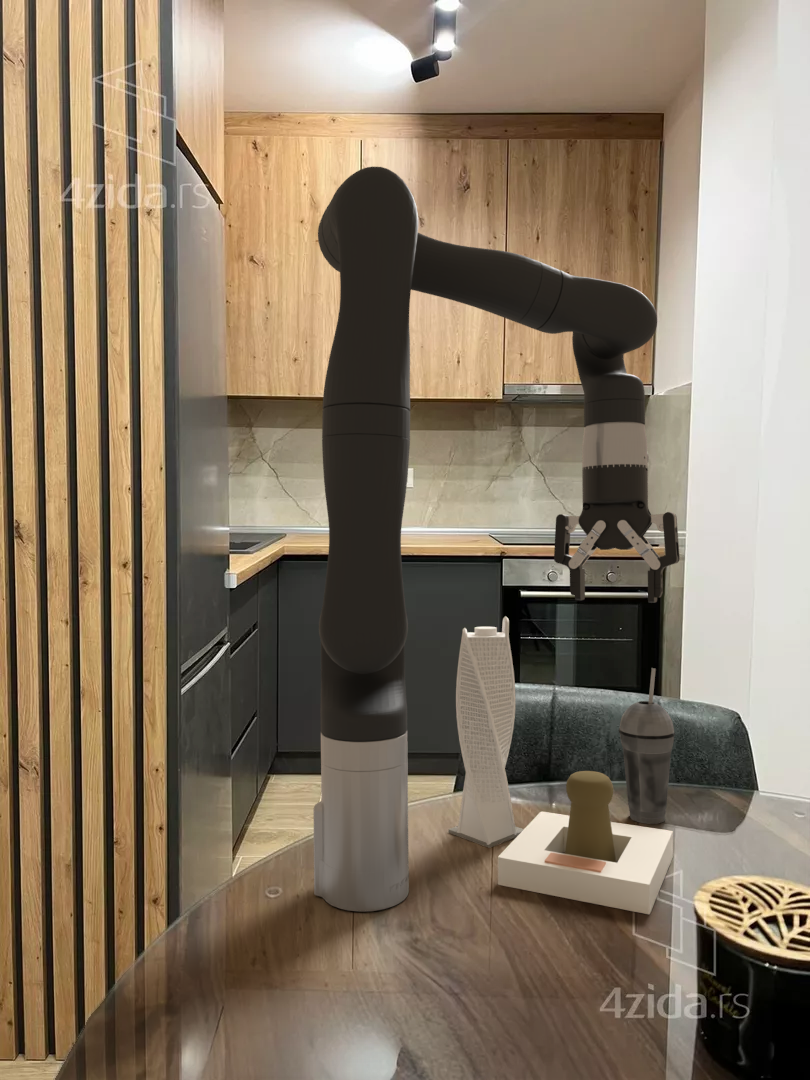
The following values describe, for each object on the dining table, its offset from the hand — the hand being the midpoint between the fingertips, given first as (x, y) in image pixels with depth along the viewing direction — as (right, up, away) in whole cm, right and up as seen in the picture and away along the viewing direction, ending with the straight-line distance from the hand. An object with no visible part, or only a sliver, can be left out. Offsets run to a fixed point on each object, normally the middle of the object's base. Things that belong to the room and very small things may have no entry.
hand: (615, 600), depth 95 cm
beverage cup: (+7, -30, +12) cm, 33 cm away
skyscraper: (-15, -30, +6) cm, 34 cm away
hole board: (-4, -30, -4) cm, 31 cm away
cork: (-4, -30, -5) cm, 31 cm away
